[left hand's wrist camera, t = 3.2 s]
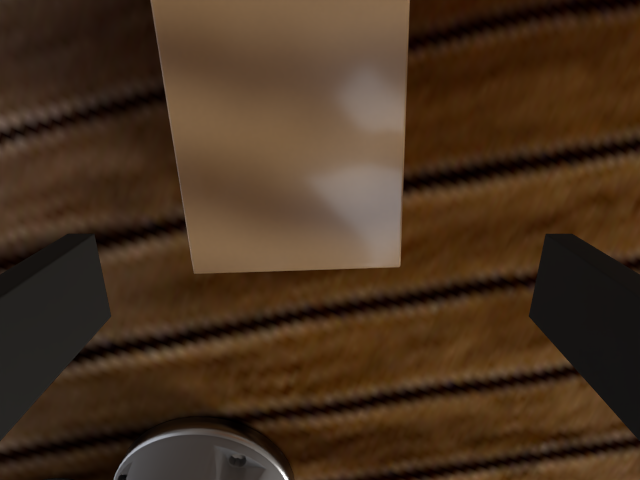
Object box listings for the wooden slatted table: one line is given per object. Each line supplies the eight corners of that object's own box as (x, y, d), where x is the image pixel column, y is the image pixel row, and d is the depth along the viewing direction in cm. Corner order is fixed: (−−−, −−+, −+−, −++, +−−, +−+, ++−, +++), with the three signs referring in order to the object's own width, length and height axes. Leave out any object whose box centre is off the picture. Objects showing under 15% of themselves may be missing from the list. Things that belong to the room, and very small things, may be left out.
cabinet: (191, -116, 22) (111, -239, 13) (380, -125, 22) (418, -255, 13) (231, 217, 28) (193, 274, 20) (376, 212, 28) (400, 267, 20)
